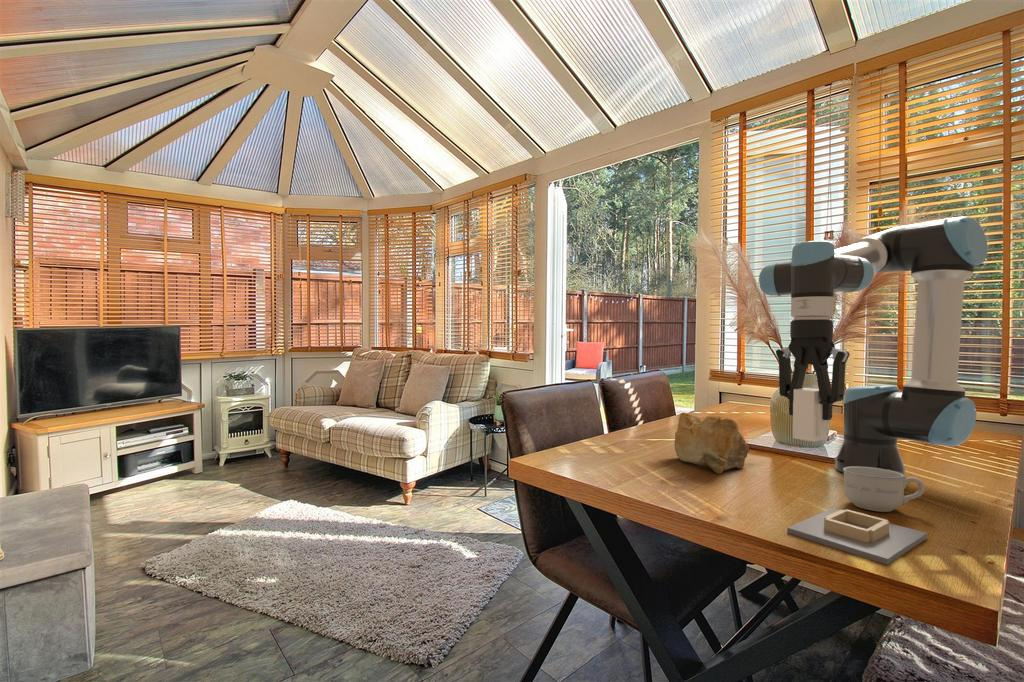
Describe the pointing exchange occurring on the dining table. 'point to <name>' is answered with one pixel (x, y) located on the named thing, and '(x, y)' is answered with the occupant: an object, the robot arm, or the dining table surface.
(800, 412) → the plug
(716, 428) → the rough brown rock
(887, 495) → the teacup
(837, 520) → the socket plate
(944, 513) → the dining table surface
